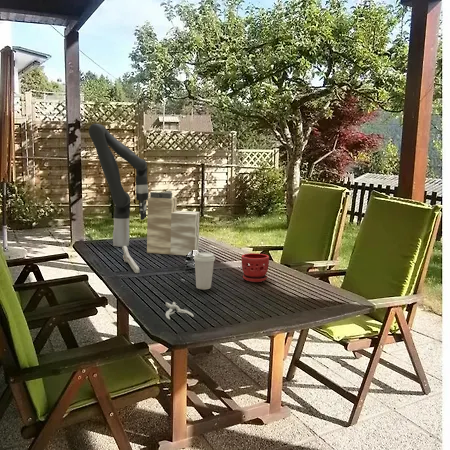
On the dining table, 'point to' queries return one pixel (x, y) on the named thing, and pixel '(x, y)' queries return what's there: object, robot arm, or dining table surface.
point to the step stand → (171, 228)
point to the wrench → (130, 260)
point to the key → (161, 195)
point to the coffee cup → (204, 269)
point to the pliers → (174, 306)
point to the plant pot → (255, 267)
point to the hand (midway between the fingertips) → (143, 218)
